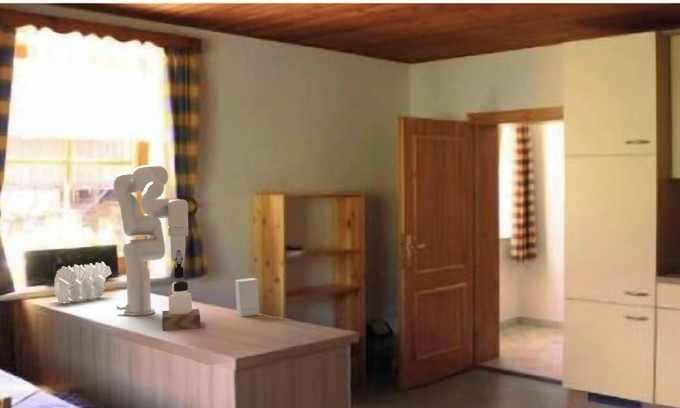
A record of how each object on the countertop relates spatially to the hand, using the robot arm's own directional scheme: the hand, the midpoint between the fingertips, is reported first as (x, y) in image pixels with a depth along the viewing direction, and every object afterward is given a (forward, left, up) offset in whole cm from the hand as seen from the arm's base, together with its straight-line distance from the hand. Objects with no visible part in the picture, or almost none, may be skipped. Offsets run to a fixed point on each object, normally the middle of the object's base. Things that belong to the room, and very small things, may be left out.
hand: (179, 275), depth 282 cm
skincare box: (+27, +13, -20) cm, 36 cm away
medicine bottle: (0, 0, -15) cm, 15 cm away
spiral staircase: (-46, +80, -20) cm, 95 cm away
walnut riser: (0, -1, -19) cm, 19 cm away
